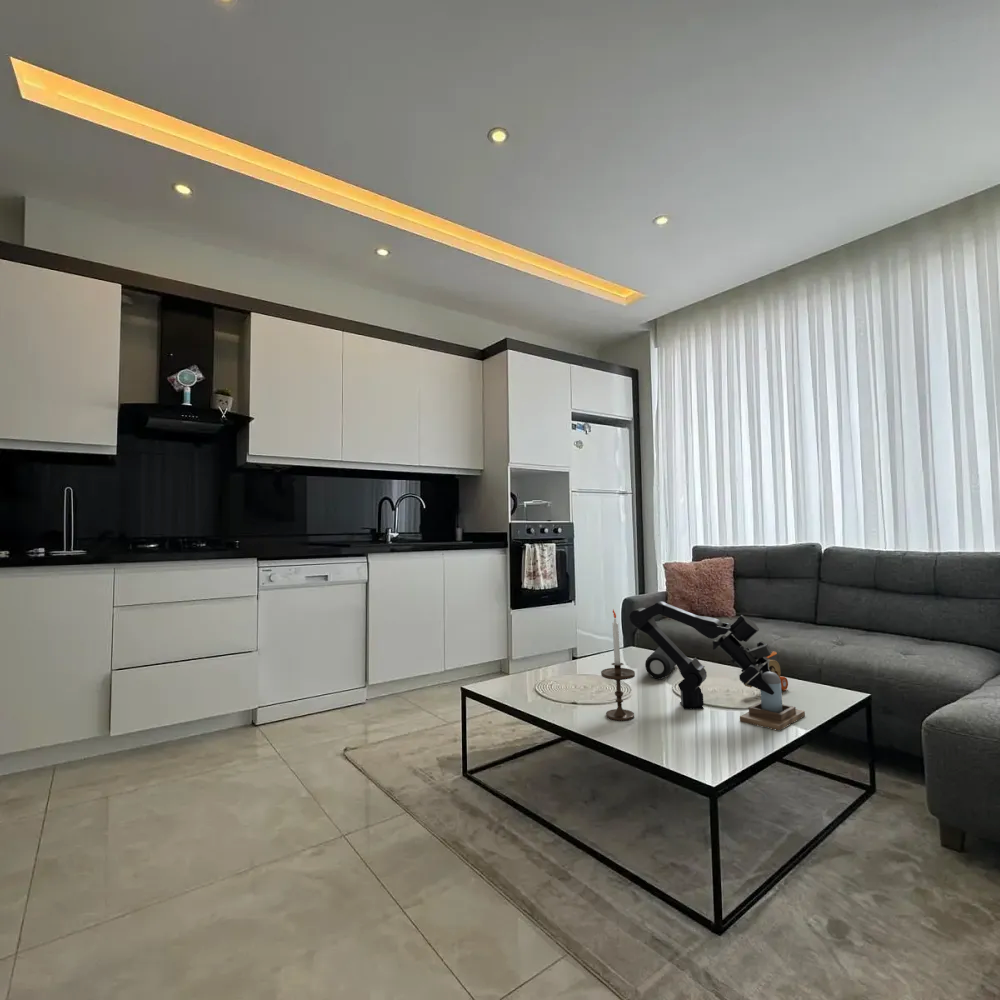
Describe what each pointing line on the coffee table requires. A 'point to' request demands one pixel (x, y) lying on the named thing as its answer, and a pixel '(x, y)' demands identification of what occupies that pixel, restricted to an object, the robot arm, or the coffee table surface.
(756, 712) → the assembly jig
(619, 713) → the candlestick
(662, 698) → the coffee table surface
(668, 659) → the portable speaker
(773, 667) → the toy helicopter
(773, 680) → the blue grey domed cylinder
